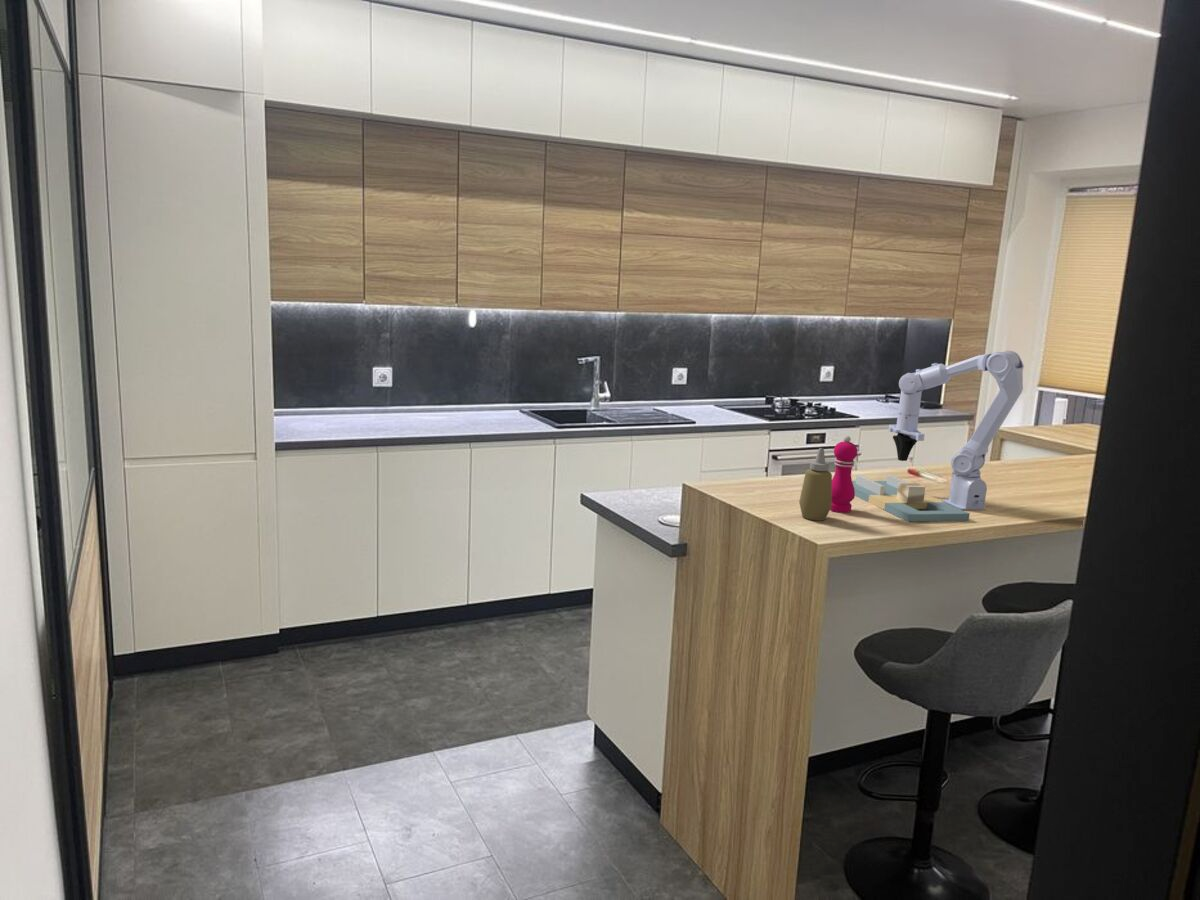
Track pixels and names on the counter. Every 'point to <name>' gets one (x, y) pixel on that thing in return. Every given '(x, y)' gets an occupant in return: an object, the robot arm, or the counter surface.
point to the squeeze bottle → (817, 489)
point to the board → (886, 499)
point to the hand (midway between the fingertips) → (902, 460)
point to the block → (910, 492)
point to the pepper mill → (843, 476)
